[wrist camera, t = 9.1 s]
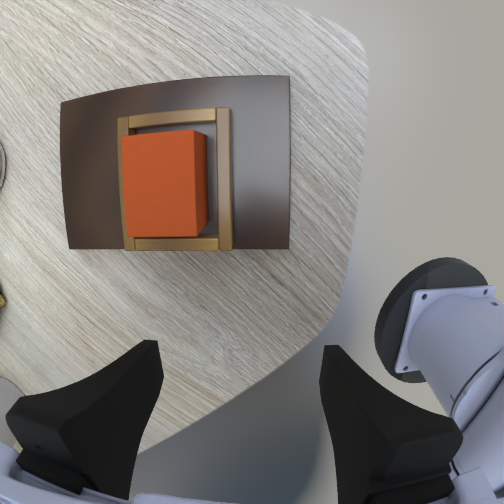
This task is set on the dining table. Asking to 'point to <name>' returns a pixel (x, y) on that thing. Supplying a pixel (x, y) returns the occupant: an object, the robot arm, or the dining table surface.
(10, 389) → the coffee cup
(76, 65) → the dining table surface
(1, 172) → the pill bottle
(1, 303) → the gaming controller
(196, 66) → the dining table surface
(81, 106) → the base pad
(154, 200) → the orange block
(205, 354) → the dining table surface
